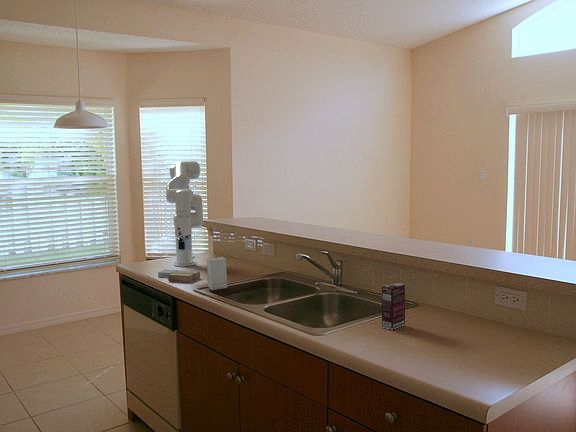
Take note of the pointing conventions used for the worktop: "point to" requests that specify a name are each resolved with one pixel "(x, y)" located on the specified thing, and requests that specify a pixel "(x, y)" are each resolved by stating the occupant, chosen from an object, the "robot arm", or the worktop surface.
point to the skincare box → (217, 273)
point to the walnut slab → (184, 276)
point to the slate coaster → (166, 273)
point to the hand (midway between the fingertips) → (184, 248)
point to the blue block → (186, 244)
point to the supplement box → (393, 305)
